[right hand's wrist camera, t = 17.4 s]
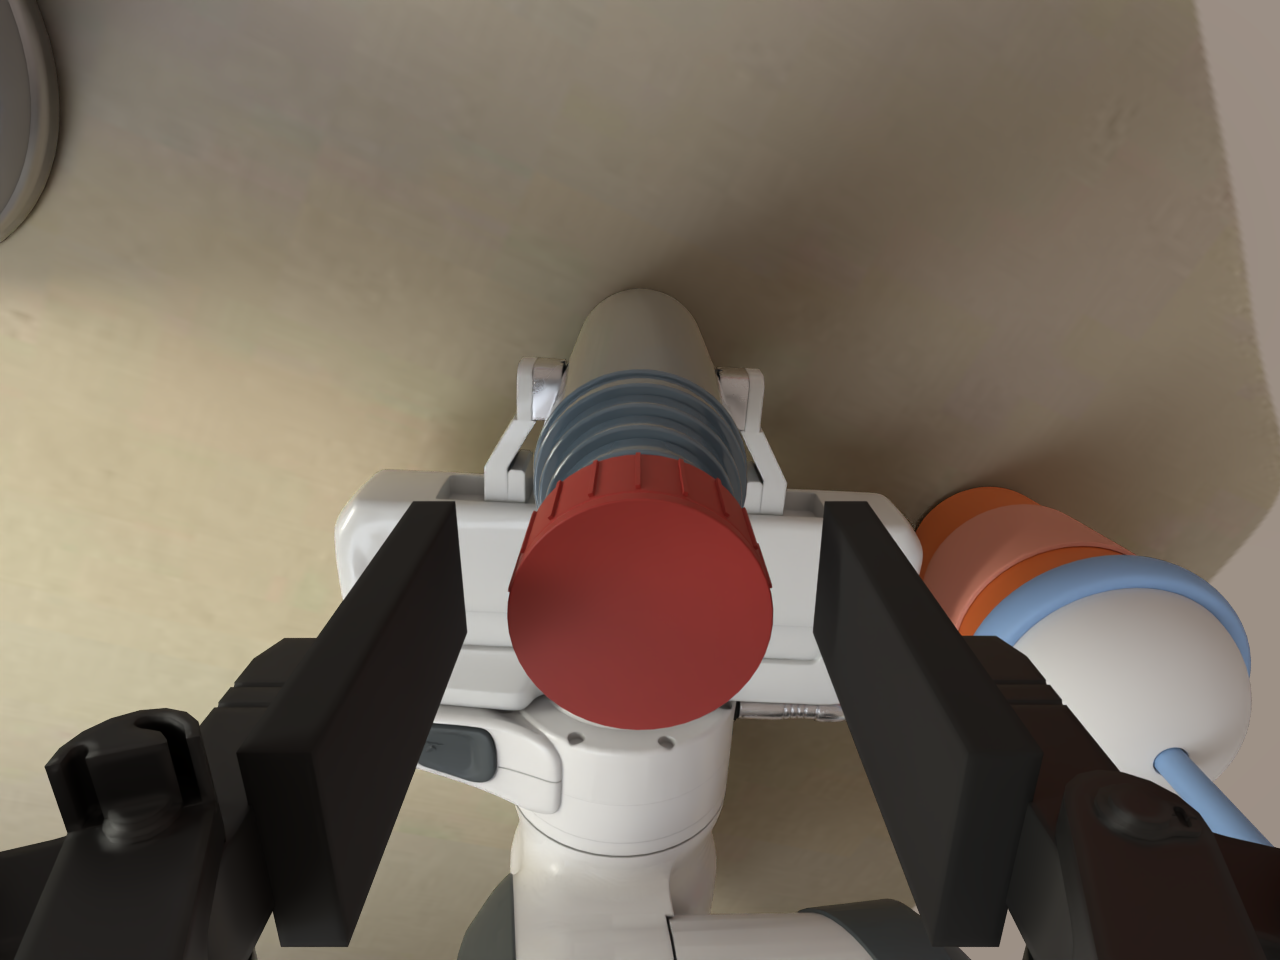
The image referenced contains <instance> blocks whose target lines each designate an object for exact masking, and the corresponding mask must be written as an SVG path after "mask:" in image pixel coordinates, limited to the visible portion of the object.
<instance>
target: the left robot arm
mask: <svg viewBox="0 0 1280 960" xmlns="http://www.w3.org/2000/svg"><path fill="white" fill-rule="evenodd" d="M565 369H566V359H555V358H541V357H522V359H521V361H520V362H519V364H518V372H517V412H516V414H515V415H514V417H513V418H512V420H511V422H510V423H509V425H508V427H507V428H506V430H505V432H504V433H503V435H502V437H501V438H500V440H499V442H498V443H497V445H496V446H495V448H494V450H493V452H492V454H491V456H490V457H489V459H488V461H487V463H486V465H485V467H484V474H480V473H459V472H439V471H419V470H400V469H385V470H381V471H379V472H377V473H376V474H374V475H373V476H372V477H371V478H370V479H369V480H368V481H367V482H366V483H365V484H363V485H362V486H361V487H360V488H359V489H358V490H357V491H356V492H355V493H354V494H353V496H352V497H351V498H350V499H349V501H348V502H347V503H346V505H345V506H344V507H343V509H342V510H341V512H340V514H339V516H338V518H337V521H336V525H335V532H334V537H335V553H336V561H337V569H338V576H339V582H340V588H341V594H342V599H343V600H344V599H345V597H346V596H347V594H348V593H349V591H350V590H351V589H352V587H353V586H354V584H355V583H356V581H357V580H358V579H359V577H360V576H361V574H362V573H363V572H364V570H365V569H366V567H367V566H368V564H369V563H370V562H371V560H372V559H373V557H374V556H375V554H376V553H377V552H378V550H379V549H380V547H381V546H382V545H383V543H384V542H385V540H386V539H387V537H388V536H389V535H390V533H391V532H392V530H393V529H394V527H395V526H396V525H397V523H398V522H399V520H400V519H401V517H402V516H403V515H404V513H405V512H406V510H407V509H408V508H409V506H410V505H411V503H412V502H413V501H455V503H456V514H457V525H458V536H459V547H460V557H461V568H462V579H463V590H464V601H465V611H466V622H467V635H466V637H465V640H464V643H463V645H462V648H461V651H460V653H459V656H458V658H457V661H456V664H455V666H454V669H453V672H452V674H451V677H450V679H449V682H448V685H447V687H446V690H445V693H444V695H443V698H442V701H441V703H440V706H439V708H438V711H437V714H436V716H435V719H434V722H433V724H432V727H431V729H430V732H429V735H428V737H427V740H426V743H425V745H424V748H423V751H422V753H421V756H420V758H419V761H418V764H417V766H416V768H417V769H420V770H424V771H427V772H431V773H434V774H437V775H440V776H444V777H447V778H450V779H453V780H456V781H459V782H462V783H465V784H468V785H470V786H473V787H476V788H479V789H481V790H484V791H486V792H489V793H491V794H494V795H496V796H498V797H501V798H503V799H505V800H507V801H509V802H511V803H513V804H515V807H516V810H517V813H518V816H519V819H520V821H519V824H518V826H517V829H516V832H515V835H514V839H513V843H512V848H511V859H510V874H509V875H508V876H507V877H505V878H504V879H503V880H502V881H501V883H500V884H499V885H498V886H497V887H496V888H495V890H494V891H493V892H492V893H491V895H490V896H489V898H488V899H487V901H486V902H485V904H484V905H483V907H482V908H481V910H480V911H479V912H478V914H477V915H476V917H475V918H474V920H473V921H472V923H471V924H470V926H469V927H468V929H467V931H466V933H465V935H464V938H463V941H462V944H461V947H460V950H459V954H458V958H457V960H971V959H970V958H969V957H968V956H967V955H966V954H965V953H964V952H963V951H962V950H961V949H960V948H959V947H932V945H931V943H930V940H929V937H928V935H927V932H926V929H925V927H924V924H923V921H922V919H921V916H920V915H919V914H917V913H916V912H915V911H913V910H912V909H910V908H909V907H908V906H906V905H905V904H903V903H901V902H899V901H896V900H893V899H881V900H872V901H863V902H855V903H846V904H838V905H829V906H821V907H812V908H806V909H803V910H800V911H798V912H797V913H749V914H710V912H711V906H712V900H713V893H714V886H715V878H716V848H715V843H714V838H713V835H712V829H713V827H714V825H715V824H716V821H717V819H718V817H719V815H720V813H721V810H722V806H723V802H724V798H725V793H726V785H727V776H728V767H729V759H730V750H731V742H732V734H733V721H734V720H736V718H743V719H765V720H782V719H789V718H790V719H795V718H799V719H802V718H804V719H814V721H819V722H840V721H845V720H846V719H845V716H844V714H843V711H842V708H841V706H840V703H839V701H838V698H837V695H836V693H835V690H834V687H833V685H832V682H831V680H830V677H829V674H828V672H827V669H826V666H825V664H824V661H823V658H822V656H821V653H820V651H819V648H818V645H817V643H816V640H815V637H814V635H813V622H814V611H815V601H816V590H817V579H818V568H819V557H820V547H821V536H822V525H823V514H824V503H825V501H867V502H868V503H869V505H870V506H871V508H872V509H873V510H874V512H875V513H876V515H877V516H878V517H879V519H880V520H881V522H882V523H883V525H884V526H885V527H886V529H887V530H888V532H889V533H890V535H891V536H892V537H893V539H894V540H895V542H896V543H897V545H898V546H899V547H900V549H901V550H902V552H903V553H904V554H905V556H906V557H907V559H908V560H909V562H910V563H911V564H912V566H913V567H914V569H915V570H916V572H917V573H918V574H920V570H921V566H922V560H923V550H922V546H921V543H920V540H919V538H918V536H917V535H916V533H915V531H914V530H913V528H912V527H911V525H910V523H909V522H908V521H907V519H906V518H905V517H904V516H903V514H902V513H901V512H900V511H899V510H898V509H897V508H896V507H895V506H894V504H893V503H892V502H891V501H890V500H889V499H888V498H886V497H885V496H883V495H881V494H878V493H868V492H846V491H826V490H806V489H786V487H787V482H786V479H785V477H784V475H783V473H782V471H781V469H780V466H779V464H778V462H777V460H776V458H775V456H774V454H773V451H772V449H771V447H770V445H769V443H768V441H767V439H766V436H765V434H764V432H763V430H762V428H761V426H760V424H761V415H762V406H763V397H764V376H763V374H762V372H761V371H760V369H755V368H734V367H717V368H716V373H717V376H718V378H719V381H720V383H721V386H722V388H723V391H724V394H725V396H726V399H727V401H728V404H729V406H730V409H731V411H732V414H733V416H734V419H735V422H736V424H737V427H738V429H739V430H740V432H741V434H742V436H743V439H744V441H745V443H746V445H747V447H748V449H749V451H750V453H751V455H752V457H753V459H754V462H755V464H754V463H753V462H752V461H747V494H746V500H745V505H744V507H745V508H746V510H747V513H748V516H749V519H750V522H751V525H752V528H753V532H754V535H755V538H756V541H757V543H759V546H760V549H761V552H762V555H763V558H764V561H765V564H766V567H767V570H768V574H769V577H770V580H771V583H772V588H770V590H771V594H772V601H773V627H772V633H771V638H770V641H769V644H768V647H767V650H766V653H765V655H764V657H763V659H762V661H761V663H760V665H759V667H758V669H757V670H756V672H755V673H754V675H753V676H752V678H751V679H750V680H749V681H748V683H747V684H746V685H745V686H744V687H743V688H742V689H741V690H740V691H739V692H738V693H737V694H736V695H735V696H734V697H732V698H731V699H730V700H729V701H728V702H726V703H725V704H723V705H722V706H720V707H719V708H717V709H716V710H714V711H712V712H710V713H708V714H706V715H704V716H702V717H701V718H698V719H695V720H693V721H690V722H687V723H684V724H680V725H676V726H672V727H668V728H660V729H653V730H630V729H619V728H614V727H608V726H604V725H600V724H597V723H594V722H590V721H588V720H585V719H583V718H581V717H578V716H576V715H574V714H572V713H570V712H569V711H567V710H565V709H563V708H561V707H560V706H559V705H557V704H556V703H555V702H553V701H552V700H550V699H549V698H548V697H547V696H546V695H545V694H544V693H543V692H542V691H540V690H539V689H538V688H537V687H536V685H535V684H534V683H533V682H532V680H531V679H530V678H529V677H528V676H527V674H526V672H525V671H524V669H523V667H522V666H521V664H520V663H519V661H518V658H517V656H516V654H515V651H514V649H513V646H512V643H511V639H510V635H509V630H508V621H507V608H508V598H509V593H510V592H508V587H509V584H510V581H511V577H512V574H513V571H514V568H515V565H516V562H517V559H518V556H519V553H520V549H521V546H522V543H523V540H524V537H525V534H526V531H527V528H528V525H529V521H530V518H531V515H532V513H533V511H536V512H537V507H536V503H535V497H534V489H533V453H532V452H531V451H530V450H519V449H520V447H521V446H522V444H523V442H524V441H525V439H526V437H527V436H528V434H529V432H530V431H531V429H532V428H533V426H534V424H535V423H536V421H537V420H546V417H547V415H548V412H549V410H550V407H551V405H552V402H553V400H554V397H555V394H556V392H557V389H558V387H559V384H560V382H561V379H562V377H563V374H564V371H565ZM518 450H519V451H518Z"/></svg>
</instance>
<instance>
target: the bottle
mask: <svg viewBox="0 0 1280 960" xmlns="http://www.w3.org/2000/svg"><path fill="white" fill-rule="evenodd" d="M636 452H640V453H641V454H645V455H656V456H663V457H667V458H672V459H676V460H679V458H680V459H683V460H684V462H685V463H688V464H690V465H692V466H694V467H696V468H698V469H700V470H702V471H704V472H706V473H707V474H709V475H710V476H711V477H713V478H714V479H716V478H719V479H720V480H721V484H722V485H723V486H724V487H725V488H726V489H727V490H728V491H729V492H730V493H731V494H732V496H733V497H734V498H735V499H736V500H737V502H738V503H739V505H740V506H741V508H744V505H745V500H746V494H747V457H746V451H745V447H744V443H743V440H742V437H741V434H740V432H739V429H738V427H737V424H736V422H735V419H734V416H733V414H732V411H731V409H730V406H729V404H728V401H727V399H726V396H725V394H724V391H723V388H722V386H721V383H720V381H719V378H718V376H717V373H716V371H715V368H714V366H713V363H712V360H711V358H710V355H709V353H708V350H707V348H706V345H705V343H704V340H703V338H702V335H701V332H700V330H699V327H698V325H697V323H696V321H695V319H694V318H693V316H692V315H691V313H690V312H689V311H688V310H687V309H686V308H685V307H684V306H683V305H682V304H681V303H680V302H679V301H677V300H676V299H674V298H673V297H671V296H669V295H667V294H665V293H662V292H659V291H656V290H651V289H629V290H625V291H621V292H618V293H616V294H613V295H611V296H609V297H608V298H606V299H604V300H603V301H602V302H600V303H599V304H598V305H597V306H596V307H595V308H594V309H593V310H592V311H591V312H590V314H589V315H588V316H587V318H586V320H585V322H584V323H583V325H582V328H581V330H580V333H579V336H578V338H577V341H576V343H575V346H574V348H573V351H572V353H571V356H570V359H569V361H568V364H567V366H566V369H565V371H564V374H563V377H562V379H561V382H560V384H559V387H558V389H557V392H556V394H555V397H554V400H553V402H552V405H551V407H550V410H549V412H548V415H547V417H546V420H545V423H544V425H543V428H542V430H541V433H540V435H539V438H538V441H537V444H536V449H535V453H534V462H533V489H534V497H535V503H536V507H537V510H538V508H539V507H540V506H541V504H542V503H543V501H544V500H545V499H546V497H547V496H548V495H549V494H550V493H551V492H552V491H553V490H554V489H555V488H556V484H557V482H558V481H559V480H561V481H564V480H565V479H566V478H567V477H569V476H570V475H572V474H574V473H575V472H577V471H579V470H580V469H582V468H584V467H586V466H589V465H591V464H593V461H594V460H598V461H602V460H605V459H608V458H612V457H618V456H624V455H636Z"/></svg>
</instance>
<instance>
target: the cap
mask: <svg viewBox="0 0 1280 960" xmlns="http://www.w3.org/2000/svg"><path fill="white" fill-rule="evenodd" d="M770 588H772V583H771V580H770V577H769V574H768V570H767V567H766V564H765V561H764V558H763V555H762V552H761V549H760V546H759V543H757V541H756V538H755V535H754V532H753V528H752V525H751V522H750V519H749V516H748V513H747V510H746V508H745V507H744V508H741V506H740V505H739V503H738V502H737V500H736V499H735V498H734V497H733V496H732V494H731V493H730V492H729V491H728V490H727V489H726V488H725V487H724V486H723V485H722V484H721V480H720V479H719V478H716V479H714V478H713V477H711V476H710V475H709V474H707V473H706V472H704V471H702V470H700V469H698V468H696V467H694V466H692V465H690V464H688V463H685V462H684V460H683V459H680V458H679V460H676V459H672V458H667V457H663V456H656V455H645V454H641V453H640V452H636V455H624V456H618V457H612V458H608V459H605V460H602V461H598V460H594V461H593V464H591V465H589V466H586V467H584V468H582V469H580V470H579V471H577V472H575V473H574V474H572V475H570V476H569V477H567V478H566V479H565V480H564V481H561V480H559V481H558V482H557V484H556V488H555V489H554V490H553V491H552V492H551V493H550V494H549V495H548V496H547V497H546V499H545V500H544V501H543V503H542V504H541V506H540V507H539V508H538V510H537V512H536V511H533V513H532V515H531V518H530V521H529V525H528V528H527V531H526V534H525V537H524V540H523V543H522V546H521V549H520V553H519V556H518V559H517V562H516V565H515V568H514V571H513V574H512V577H511V581H510V584H509V587H508V592H510V593H509V598H508V608H507V621H508V630H509V635H510V639H511V643H512V646H513V649H514V651H515V654H516V656H517V658H518V661H519V663H520V664H521V666H522V667H523V669H524V671H525V672H526V674H527V676H528V677H529V678H530V679H531V680H532V682H533V683H534V684H535V685H536V687H537V688H538V689H539V690H540V691H542V692H543V693H544V694H545V695H546V696H547V697H548V698H549V699H550V700H552V701H553V702H555V703H556V704H557V705H559V706H560V707H561V708H563V709H565V710H567V711H569V712H570V713H572V714H574V715H576V716H578V717H581V718H583V719H585V720H588V721H590V722H594V723H597V724H600V725H604V726H608V727H614V728H619V729H630V730H653V729H660V728H668V727H672V726H676V725H680V724H684V723H687V722H690V721H693V720H695V719H698V718H701V717H702V716H704V715H706V714H708V713H710V712H712V711H714V710H716V709H717V708H719V707H720V706H722V705H723V704H725V703H726V702H728V701H729V700H730V699H731V698H732V697H734V696H735V695H736V694H737V693H738V692H739V691H740V690H741V689H742V688H743V687H744V686H745V685H746V684H747V683H748V681H749V680H750V679H751V678H752V676H753V675H754V673H755V672H756V670H757V669H758V667H759V665H760V663H761V661H762V659H763V657H764V655H765V653H766V650H767V647H768V644H769V641H770V638H771V633H772V627H773V601H772V594H771V590H770Z"/></svg>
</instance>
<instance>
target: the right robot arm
mask: <svg viewBox="0 0 1280 960" xmlns="http://www.w3.org/2000/svg"><path fill="white" fill-rule="evenodd" d="M59 115H60V107H59V88H58V81H57V73H56V66H55V62H54V57H53V53H52V48H51V44H50V40H49V37H48V34H47V31H46V27H45V24H44V21H43V18H42V15H41V13H40V10H39V8H38V5H37V3H36V0H0V243H1V242H2V241H3V240H4V239H5V238H7V237H8V236H9V235H10V234H11V233H13V232H14V231H15V230H16V228H17V227H18V226H19V225H20V224H21V223H22V222H23V221H24V220H25V219H26V217H27V216H28V214H29V213H30V212H31V210H32V209H33V207H34V206H35V204H36V203H37V201H38V199H39V197H40V195H41V193H42V191H43V190H44V187H45V185H46V182H47V180H48V177H49V174H50V172H51V168H52V164H53V161H54V157H55V153H56V147H57V140H58V134H59ZM466 635H467V622H466V611H465V601H464V590H463V579H462V568H461V557H460V547H459V536H458V525H457V514H456V503H455V501H413V502H412V503H411V505H410V506H409V508H408V509H407V510H406V512H405V513H404V515H403V516H402V517H401V519H400V520H399V522H398V523H397V525H396V526H395V527H394V529H393V530H392V532H391V533H390V535H389V536H388V537H387V539H386V540H385V542H384V543H383V545H382V546H381V547H380V549H379V550H378V552H377V553H376V554H375V556H374V557H373V559H372V560H371V562H370V563H369V564H368V566H367V567H366V569H365V570H364V572H363V573H362V574H361V576H360V577H359V579H358V580H357V581H356V583H355V584H354V586H353V587H352V589H351V590H350V591H349V593H348V594H347V596H346V597H345V599H344V600H343V601H342V603H341V604H340V606H339V607H338V608H337V610H336V611H335V613H334V614H333V616H332V617H331V618H330V620H329V621H328V623H327V624H326V626H325V627H324V628H323V630H322V631H321V633H320V634H319V635H318V637H317V638H284V639H282V640H281V641H279V642H278V643H276V644H275V645H273V646H272V647H270V648H269V649H267V650H266V651H264V652H263V653H261V654H260V655H258V656H257V657H255V658H254V659H253V660H252V661H251V663H250V664H249V665H248V666H247V668H246V669H245V670H244V671H243V673H242V674H241V675H240V676H239V677H238V679H237V680H236V681H235V682H234V683H235V685H234V687H230V689H229V690H228V691H227V692H226V694H225V695H224V696H223V697H222V699H221V700H220V701H219V702H218V703H219V705H218V708H214V709H213V710H212V711H211V712H210V714H209V715H208V716H207V717H206V718H205V720H204V721H203V722H202V723H201V725H200V726H199V722H198V721H197V720H196V719H195V718H193V717H192V716H191V715H190V714H188V713H187V712H184V711H179V710H173V709H168V708H161V709H149V710H139V711H136V712H132V713H128V714H125V715H121V716H118V717H114V718H111V719H109V720H106V721H104V722H102V723H100V724H98V725H96V726H94V727H91V728H89V729H87V730H85V731H83V732H81V733H80V734H79V735H77V736H76V737H74V738H73V739H72V740H70V741H69V742H67V743H66V744H65V745H63V746H62V747H60V748H59V749H58V751H57V752H56V753H55V754H54V756H53V757H52V758H51V759H50V761H49V762H48V763H47V764H46V765H45V769H46V772H47V775H48V778H49V781H50V784H51V787H52V789H53V792H54V795H55V798H56V801H57V804H58V807H59V810H60V813H61V816H62V818H63V821H64V824H65V827H66V830H67V836H64V837H61V838H58V839H54V840H50V841H46V842H41V843H37V844H32V845H28V846H24V847H19V848H15V849H11V850H6V851H2V852H0V960H258V959H257V955H256V951H255V945H256V943H257V941H258V939H259V937H260V935H261V933H262V931H263V929H264V927H265V925H266V923H267V921H268V919H269V917H270V915H271V913H272V911H273V914H274V919H275V923H276V927H277V932H278V936H279V940H280V945H281V947H348V945H349V943H350V940H351V937H352V935H353V932H354V929H355V927H356V924H357V921H358V919H359V916H360V914H361V911H362V908H363V906H364V903H365V900H366V898H367V895H368V893H369V890H370V887H371V885H372V882H373V879H374V877H375V874H376V872H377V869H378V866H379V864H380V861H381V858H382V856H383V853H384V850H385V848H386V845H387V843H388V840H389V837H390V835H391V832H392V829H393V827H394V824H395V822H396V819H397V816H398V814H399V811H400V808H401V806H402V803H403V800H404V798H405V795H406V793H407V790H408V787H409V785H410V782H411V779H412V777H413V774H414V772H415V769H416V766H417V764H418V761H419V758H420V756H421V753H422V751H423V748H424V745H425V743H426V740H427V737H428V735H429V732H430V729H431V727H432V724H433V722H434V719H435V716H436V714H437V711H438V708H439V706H440V703H441V701H442V698H443V695H444V693H445V690H446V687H447V685H448V682H449V679H450V677H451V674H452V672H453V669H454V666H455V664H456V661H457V658H458V656H459V653H460V651H461V648H462V645H463V643H464V640H465V637H466ZM813 635H814V637H815V640H816V643H817V645H818V648H819V651H820V653H821V656H822V658H823V661H824V664H825V666H826V669H827V672H828V674H829V677H830V680H831V682H832V685H833V687H834V690H835V693H836V695H837V698H838V701H839V703H840V706H841V708H842V711H843V714H844V716H845V719H846V722H847V724H848V727H849V729H850V732H851V735H852V737H853V740H854V743H855V745H856V748H857V751H858V753H859V756H860V758H861V761H862V764H863V766H864V769H865V772H866V774H867V777H868V779H869V782H870V785H871V787H872V790H873V793H874V795H875V798H876V800H877V803H878V806H879V808H880V811H881V814H882V816H883V819H884V822H885V824H886V827H887V829H888V832H889V835H890V837H891V840H892V843H893V845H894V848H895V850H896V853H897V856H898V858H899V861H900V864H901V866H902V869H903V872H904V874H905V877H906V879H907V882H908V885H909V887H910V890H911V893H912V895H913V898H914V900H915V903H916V906H917V908H918V911H919V914H920V916H921V919H922V921H923V924H924V927H925V929H926V932H927V935H928V937H929V940H930V943H931V945H932V947H999V944H1000V940H1001V936H1002V932H1003V927H1004V923H1005V919H1006V914H1007V910H1008V909H1009V911H1010V913H1011V915H1012V917H1013V919H1014V921H1015V923H1016V925H1017V927H1018V929H1019V931H1020V933H1021V935H1022V937H1023V939H1024V941H1025V943H1026V948H1025V951H1024V955H1023V960H1280V848H1276V847H1271V846H1267V845H1263V844H1258V843H1254V842H1249V841H1245V840H1241V839H1236V838H1232V837H1227V836H1224V835H1221V834H1217V833H1214V832H1212V831H1211V829H1210V828H1209V826H1208V825H1207V823H1206V822H1205V821H1204V819H1203V818H1202V816H1201V815H1200V813H1199V812H1198V811H1196V810H1195V809H1194V808H1193V807H1191V806H1190V805H1189V804H1188V803H1187V802H1185V801H1184V800H1183V799H1182V798H1180V797H1179V796H1178V795H1177V794H1175V793H1173V792H1171V791H1169V790H1167V789H1165V788H1163V787H1161V786H1160V785H1158V784H1156V783H1154V782H1152V781H1150V780H1147V779H1144V778H1140V777H1137V776H1134V775H1131V774H1128V773H1124V772H1120V770H1119V769H1118V768H1117V767H1116V766H1115V764H1114V763H1113V762H1112V761H1111V759H1110V758H1109V757H1108V756H1107V754H1106V753H1105V752H1104V751H1103V749H1102V748H1101V747H1100V746H1099V745H1098V743H1097V742H1096V741H1095V740H1094V738H1093V737H1092V736H1091V735H1090V733H1089V732H1088V731H1087V730H1086V728H1085V727H1084V726H1083V725H1082V724H1081V722H1080V721H1079V720H1078V719H1077V717H1076V716H1075V715H1074V714H1073V712H1072V711H1071V710H1070V709H1069V707H1068V706H1067V705H1063V704H1062V699H1061V698H1060V696H1059V695H1058V694H1057V693H1056V691H1055V690H1054V689H1053V688H1052V687H1051V685H1047V684H1046V679H1045V678H1044V677H1043V675H1042V674H1041V673H1040V672H1039V670H1038V669H1037V668H1036V667H1035V666H1034V664H1033V663H1032V662H1031V661H1030V659H1029V658H1028V657H1027V656H1026V655H1025V654H1023V653H1021V652H1020V651H1018V650H1017V649H1015V648H1014V647H1012V646H1011V645H1009V644H1008V643H1006V642H1005V641H1003V640H1002V639H1000V638H999V637H997V636H962V635H961V634H960V633H959V631H958V630H957V628H956V627H955V626H954V624H953V623H952V621H951V620H950V618H949V617H948V616H947V614H946V613H945V611H944V610H943V608H942V607H941V606H940V604H939V603H938V601H937V600H936V599H935V597H934V596H933V594H932V593H931V591H930V590H929V589H928V587H927V586H926V584H925V583H924V581H923V580H922V579H921V577H920V576H919V574H918V573H917V572H916V570H915V569H914V567H913V566H912V564H911V563H910V562H909V560H908V559H907V557H906V556H905V554H904V553H903V552H902V550H901V549H900V547H899V546H898V545H897V543H896V542H895V540H894V539H893V537H892V536H891V535H890V533H889V532H888V530H887V529H886V527H885V526H884V525H883V523H882V522H881V520H880V519H879V517H878V516H877V515H876V513H875V512H874V510H873V509H872V508H871V506H870V505H869V503H868V502H867V501H825V503H824V514H823V525H822V536H821V547H820V557H819V568H818V579H817V590H816V601H815V611H814V622H813Z"/></svg>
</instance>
